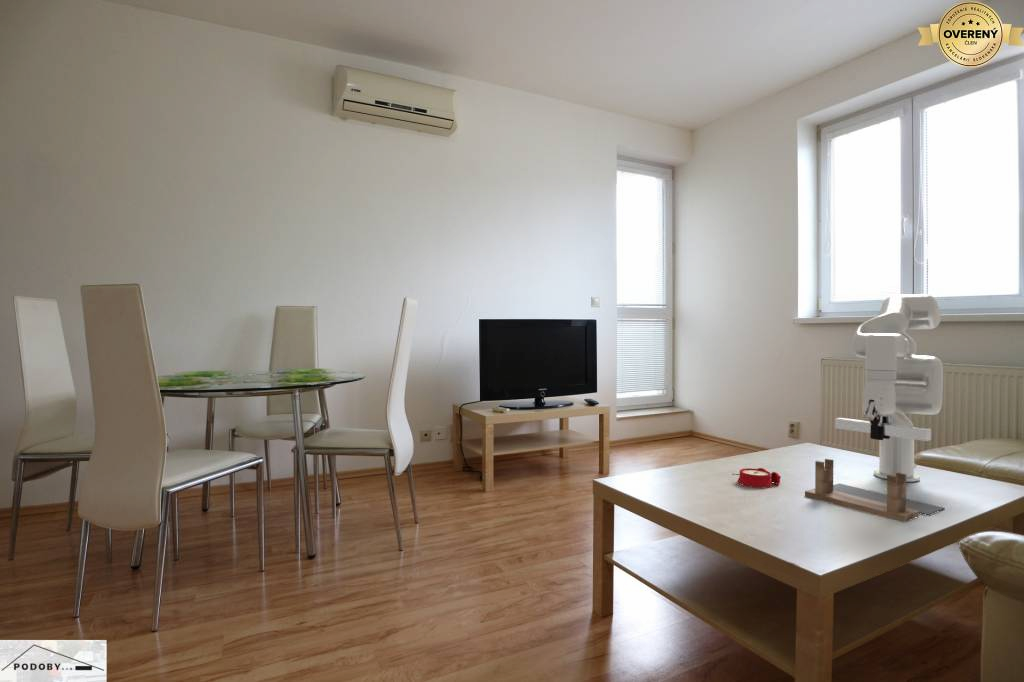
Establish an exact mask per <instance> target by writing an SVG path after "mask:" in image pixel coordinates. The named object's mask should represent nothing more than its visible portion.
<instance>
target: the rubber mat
mask: <svg viewBox="0 0 1024 682" xmlns="http://www.w3.org/2000/svg"><path fill="white" fill-rule="evenodd" d="M833 490H834V491H838V492H842V493H846V494H850V495H854V496H858V497H862V498H867V499H871V500H875V501H879V502H883V503H887V493H884V492H883V493H882V492H879V491H873V490H870V489H869V490H868V489H865V488H860V487H857V486H852V485H847V484H844V483H836V484H833ZM906 508H908V509H912V510H916V511H919V513H921V514H920V515H923V514H926V515H925V516H927V515H929V516H931V515H930V514H932V513H934V514H936V513H935V512H937V511H940V510H942V509H945V507H943V506H939V505H935V504H929V503H926V502H923V501H917V500H913V499H909V498H906ZM942 511H943V510H942ZM940 512H941V511H940ZM937 513H938V512H937ZM932 515H933V514H932Z"/></svg>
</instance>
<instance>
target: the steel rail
mask: <svg viewBox="0 0 1024 682" xmlns="http://www.w3.org/2000/svg"><path fill="white" fill-rule="evenodd" d="M882 426H884V428H883V435H887V436H894V437H901V438H908V439H914V441H915V440H916V441H922V442H923V441H924V442H928V441H931V440H932V428H924V427H919V426H918V427H917V426H914V427H910V426H902V425H894V424H886V423H882ZM834 428H835V429H840V430H846V431H854V432H858V433H860V432H861V433H867V434H870V433H871V425H870V420H869V421H868V420H862V419H852V418H847V417H845V418H844V417H836V418H834Z"/></svg>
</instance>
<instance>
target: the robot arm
mask: <svg viewBox="0 0 1024 682" xmlns="http://www.w3.org/2000/svg"><path fill="white" fill-rule="evenodd" d="M881 304H882V305H881V308H880V310H879V312H878V315H877V316H875V317H873V318H871V319H868V320H866V321H865V322H862V323H861V324H859V326H858V327H857V328H856V330H855V332H854V335H853V337H852V342H851V350H852V353H853V355H854V356H856V357H858V358H865V369H864V370H865V373H864V374H865V376H864V379H865V383H864V388H863V397H862V413H863V414H864V415H866V419H868V420H869V421H870V425H871V433H869V434H870V439H871V440H877V441H879V450H878V451H879V454H878V457H879V458H878V459H879V463H878V466H879V467H878V469H875V470H873V474H874V476H876V477H878V478H881V479H884V480H887V476H888V475H890V476H895V477H896V473H902V474H906V483H912V482H913V483H914V482H919V481H920V475H918V474H916V473H915V470H916V469H917V467H918V466H917V465H916V463H915V439H908V438H901V437H894V436H887V435H883V428H884V426H882V423H886V424H894V425H902V426H910V427H915V426H914V423H913V422H912V420H910V418H909V417H908V416H907V415H906V414H917V415H928V416H929V415H930V416H931V415H933V416H934V415H937V414H939V413H940V411H941V410H942V405H943V389H944V387H943V385H944V366H943V362H942V361H941V359H940V358H938V357H936V356H933V355H932V356H931V355H917V349H918V348H917V347H918V346H917V343H916V341H915V340H914V339H913V338H912V337H911V336H910V335H909V334H907V333H906V331H907V330H932V329H935V328H938V326H939V325H940V323H941V319H942V316H941V313H942V312H941V310H940V307H939V305H938V302H937V300H936V299H935V297H934V296H932V295H930V294H928V293H927V294H925V293H920V294H919V293H917V294H916V293H915V294H897V295H891V296H889V297H887V298H886V299H885V300H883V302H882V303H881Z"/></svg>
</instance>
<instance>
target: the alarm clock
mask: <svg viewBox="0 0 1024 682" xmlns="http://www.w3.org/2000/svg"><path fill="white" fill-rule="evenodd" d="M733 475H734V476H739V477H738V479H737V483H738V482H739V483H738V484H740V483H741V484H743V486H745V485H746V487H749V486H751V487H750V488H756V487H760V488H759V489H765V488H764V487H768V488H772V487H773V486H774V484H773V483H772V482H774V483H777V484H775V486H779V485H780V483H781V478H782V476H781V475H780V474H779V473H778V472H777V471H772V472H770V471H768V470H767V469H765V468H763V467H758V468H751V467H750V468H741V469H740V470H739V473H732V476H733ZM741 484H740V485H741ZM771 486H772V487H771ZM762 487H763V488H762Z"/></svg>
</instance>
